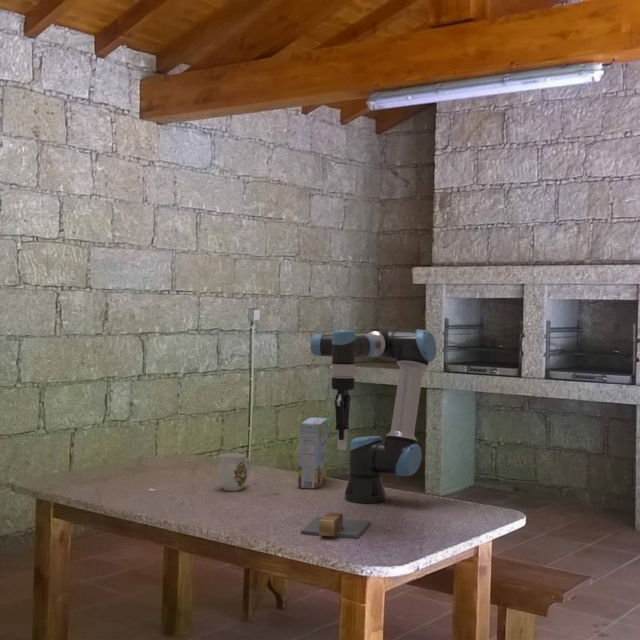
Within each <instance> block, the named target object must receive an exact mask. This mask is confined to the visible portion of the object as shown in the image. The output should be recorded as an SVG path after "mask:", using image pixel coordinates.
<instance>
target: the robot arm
mask: <svg viewBox="0 0 640 640" xmlns="http://www.w3.org/2000/svg"><path fill="white" fill-rule="evenodd" d="M309 347H310V352H311V354H312V355H314V356H315V357H316V356H317V357H318V356H319V357H331V366H330V367H329V369H330V370H331V376H332V378H331V386H330V387H331V390H336V391H337V393H336V394H335V400H334V406H335V409H334V410H335V428H334V429H335V430H337V450H338V451H339V450H341V451H346V450H347V445H348V443H347V442H348V441H347V440H348V437H347V436H348V435H347V434H348V430H350V426H349V421H350V420H349V419H350V407H351V406H350V404H351V395H350V393H349V391H352V390H355V381H356V379H355V378H354V377H355V376H356V363H355V362H356V359H365V358H368V357H369V358H370V357H371V358H382V359H389V360H393V361H396V363H397V365H398V367H399V374H398V380H397V387H396V394H395V400H394V407H393V413H392V421H391V428H390V431H389V433H387V434H386V435H385V438H384V439H385V440H383V438H382V436H380V435H371V436H370V435H369V436H367V435H366V436H360V437H355V438H353V439H352V440H351V441H350V447H349V480H348V482H347V484H346V485H347V486H346V488H345V490H344V499H345V500H346V501H347V502H352V503H357V504H358V503H360V504H375V503H377V504H378V503H382V502H385V501H386V498H387V497H386V495H387V494H386V490H385V487H384V484H383V480H382V474H385V475H386V474H387V475H393V476H398V477H403V476H404V477H410V476H413V475H414V474H415V473H416V472H417V471H418V469H419V468H420V465H421V462H422V458H423V457H422V456H423V454H422V448H421V446H420V445H419V444H418V439H417V438H416V436H415V430H416V423H417V417H418V410H419V403H420V397H421V395H420V394H421V388H422V383H423V376H424V371H426V370H427V369H428V368H429V363H431V362H433V361H434V360H435V359H436V357H437V343H436V339H435V336H434V335H433V333H432V332H431V331H429V330H428V329H427V330H426V329H420V328H417V329H415V328H414V329H413V328H412V329H411V328H409V329H403V328H402V329H401V328H390V329H383V330H376V331H369V332H368V333H365V334H364V333H361V334H360V333H356V331H355V330H354V329H335V330H333V331H332V334H331V333H330V334H329V333H328V334H326V333H325V334H323V333H320V334H319V333H317V334H315V335H313V336H312V337H311V339H310V342H309Z"/></svg>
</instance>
